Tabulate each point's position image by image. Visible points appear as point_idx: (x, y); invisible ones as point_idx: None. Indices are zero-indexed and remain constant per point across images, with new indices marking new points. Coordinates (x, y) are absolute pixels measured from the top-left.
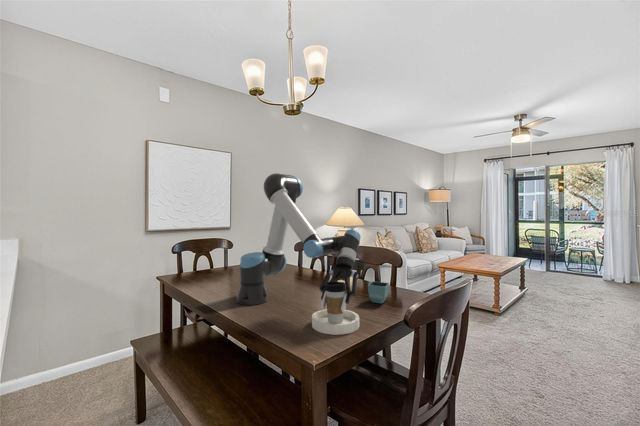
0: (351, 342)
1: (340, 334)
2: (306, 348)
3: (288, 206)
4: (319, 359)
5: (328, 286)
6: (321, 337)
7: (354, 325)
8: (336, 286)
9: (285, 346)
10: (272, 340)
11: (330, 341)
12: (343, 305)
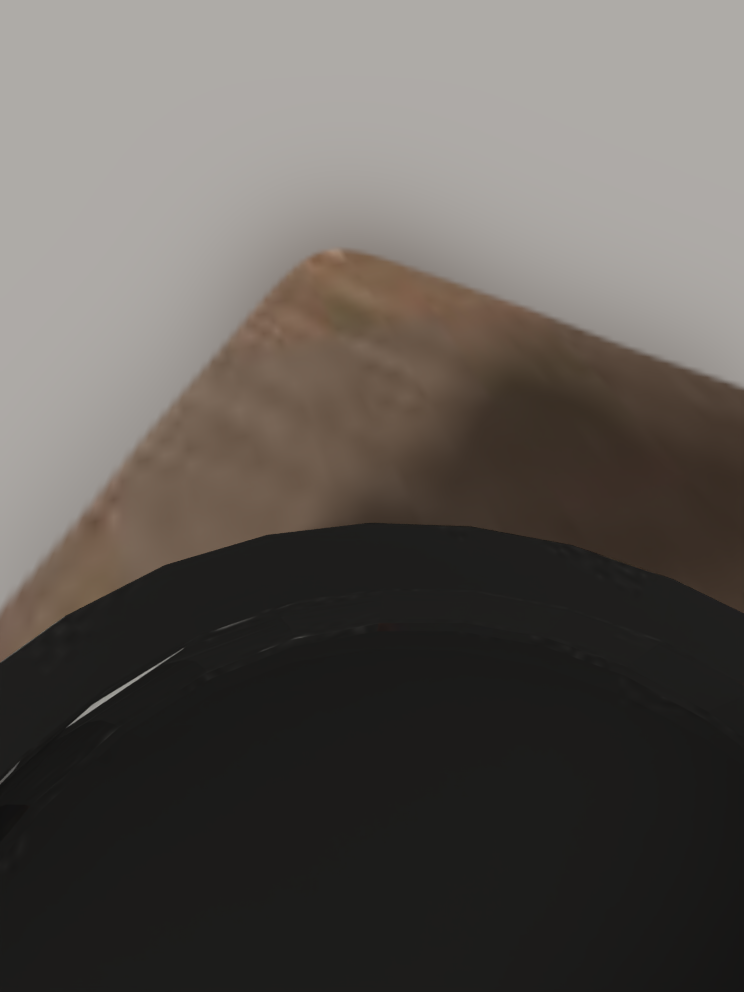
0: (122, 509)
1: None
2: (439, 347)
3: None
4: (310, 267)
5: (693, 614)
6: None
7: None
8: (266, 560)
9: (584, 338)
10: (728, 385)
11: (307, 479)
12: None
